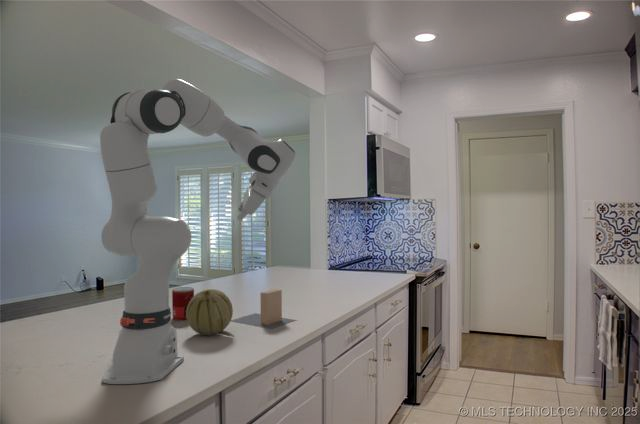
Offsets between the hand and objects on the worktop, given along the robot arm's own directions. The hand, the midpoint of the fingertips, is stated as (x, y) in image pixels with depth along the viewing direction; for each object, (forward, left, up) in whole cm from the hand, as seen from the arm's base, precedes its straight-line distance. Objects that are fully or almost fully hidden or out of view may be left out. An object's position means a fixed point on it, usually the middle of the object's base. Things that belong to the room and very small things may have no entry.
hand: (239, 215), depth 155 cm
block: (+2, -11, -38) cm, 40 cm away
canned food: (+15, +22, -39) cm, 47 cm away
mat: (+5, -8, -39) cm, 40 cm away
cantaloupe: (-9, +9, -39) cm, 41 cm away
